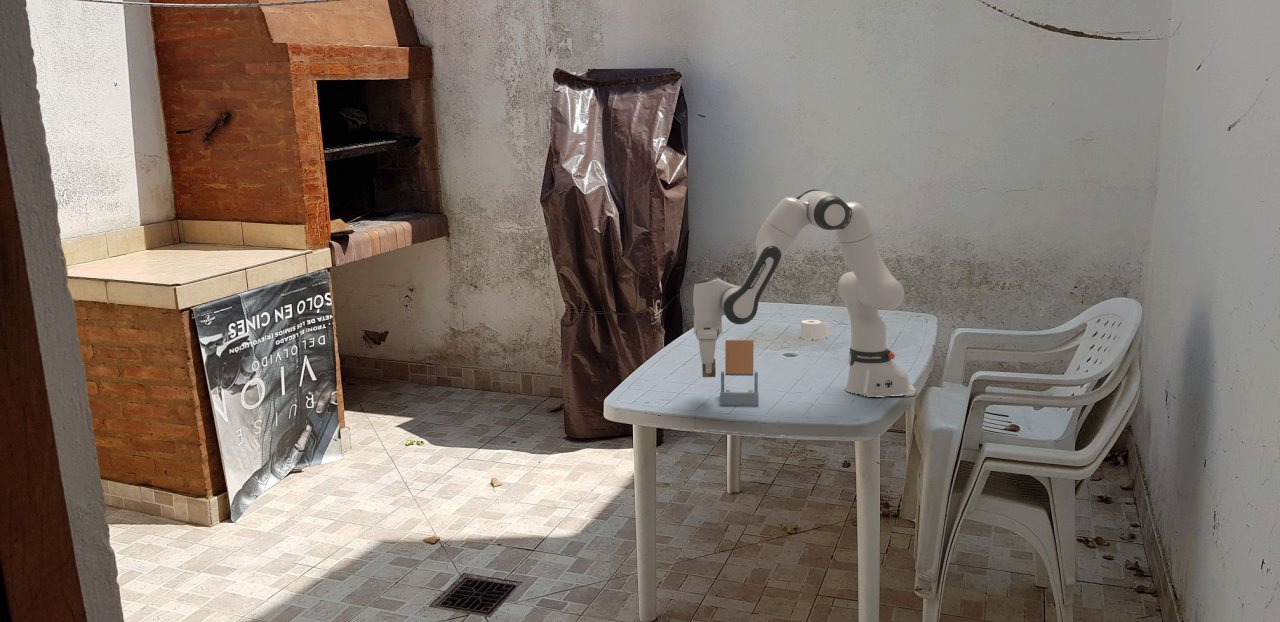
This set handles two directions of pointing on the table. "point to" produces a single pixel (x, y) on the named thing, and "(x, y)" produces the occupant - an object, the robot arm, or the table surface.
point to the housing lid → (739, 357)
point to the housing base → (739, 395)
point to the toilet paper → (814, 329)
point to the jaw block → (709, 373)
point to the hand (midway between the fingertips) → (709, 370)
